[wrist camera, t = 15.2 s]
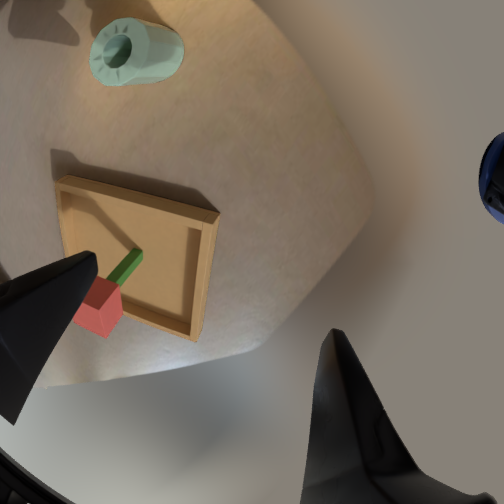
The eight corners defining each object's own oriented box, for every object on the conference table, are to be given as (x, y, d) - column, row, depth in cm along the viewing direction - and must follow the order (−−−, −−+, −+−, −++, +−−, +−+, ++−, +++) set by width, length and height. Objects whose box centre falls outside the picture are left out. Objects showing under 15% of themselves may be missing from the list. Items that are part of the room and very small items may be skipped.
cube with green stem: (153, 244, 25) (99, 310, 17) (153, 272, 27) (106, 338, 19) (123, 234, 25) (64, 293, 18) (125, 262, 27) (74, 322, 20)
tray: (220, 213, 22) (212, 224, 21) (202, 329, 31) (196, 342, 29) (67, 174, 23) (54, 181, 22) (82, 283, 31) (74, 292, 30)
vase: (190, 27, 15) (155, 14, 11) (178, 84, 17) (141, 87, 13) (136, 28, 15) (95, 21, 11) (127, 81, 18) (85, 86, 14)
